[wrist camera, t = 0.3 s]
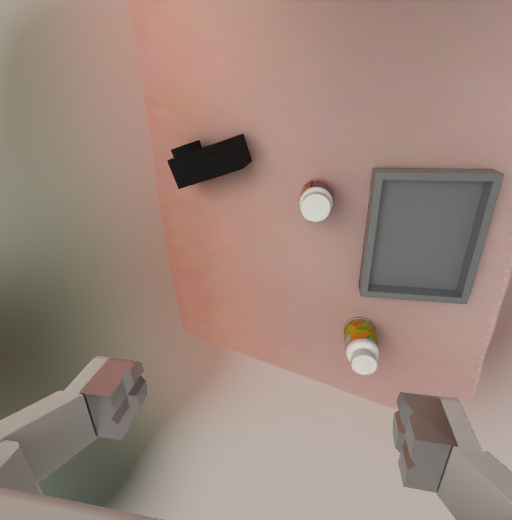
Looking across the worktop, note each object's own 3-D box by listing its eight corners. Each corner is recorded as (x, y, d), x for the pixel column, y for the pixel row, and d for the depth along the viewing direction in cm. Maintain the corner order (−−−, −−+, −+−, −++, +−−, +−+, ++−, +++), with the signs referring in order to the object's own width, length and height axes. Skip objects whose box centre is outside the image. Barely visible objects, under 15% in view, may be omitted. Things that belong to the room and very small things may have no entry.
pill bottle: (305, 175, 52) (302, 187, 45) (336, 181, 52) (338, 195, 45) (298, 204, 55) (294, 220, 47) (327, 210, 54) (328, 228, 47)
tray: (373, 167, 50) (376, 172, 47) (492, 169, 47) (503, 173, 44) (358, 285, 59) (360, 296, 56) (459, 292, 56) (466, 304, 53)
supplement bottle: (379, 321, 61) (387, 358, 52) (367, 344, 63) (374, 382, 55) (349, 312, 61) (353, 347, 53) (339, 335, 64) (342, 372, 55)
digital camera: (241, 125, 51) (230, 128, 45) (252, 160, 53) (243, 168, 47) (181, 146, 54) (163, 152, 48) (194, 179, 56) (178, 189, 50)
